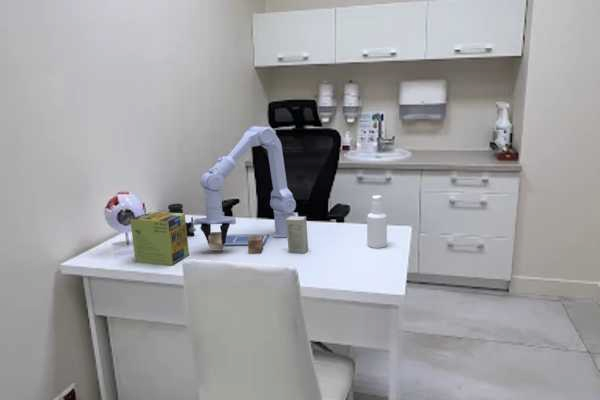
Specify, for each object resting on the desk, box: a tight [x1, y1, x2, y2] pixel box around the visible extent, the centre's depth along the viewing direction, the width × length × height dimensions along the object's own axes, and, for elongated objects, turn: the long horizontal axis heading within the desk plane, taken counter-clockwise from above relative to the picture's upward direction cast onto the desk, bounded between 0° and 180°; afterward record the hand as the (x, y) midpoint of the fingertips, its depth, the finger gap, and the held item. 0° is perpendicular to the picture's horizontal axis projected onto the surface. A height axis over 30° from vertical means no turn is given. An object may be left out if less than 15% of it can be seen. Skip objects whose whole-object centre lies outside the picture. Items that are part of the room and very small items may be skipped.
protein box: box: [129, 211, 190, 266], centre depth 161 cm, size 10×15×16 cm
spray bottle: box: [366, 195, 388, 249], centre depth 165 cm, size 7×7×18 cm
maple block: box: [208, 231, 226, 251], centre depth 166 cm, size 4×4×5 cm
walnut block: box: [247, 236, 264, 255], centre depth 165 cm, size 4×4×5 cm
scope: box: [167, 203, 197, 238], centre depth 182 cm, size 8×14×10 cm
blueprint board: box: [224, 233, 270, 247], centre depth 178 cm, size 18×12×1 cm, turn 85°
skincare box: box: [286, 216, 309, 254], centre depth 163 cm, size 6×4×12 cm
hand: (217, 243), depth 166 cm, fingers closed on maple block, 4 cm apart
